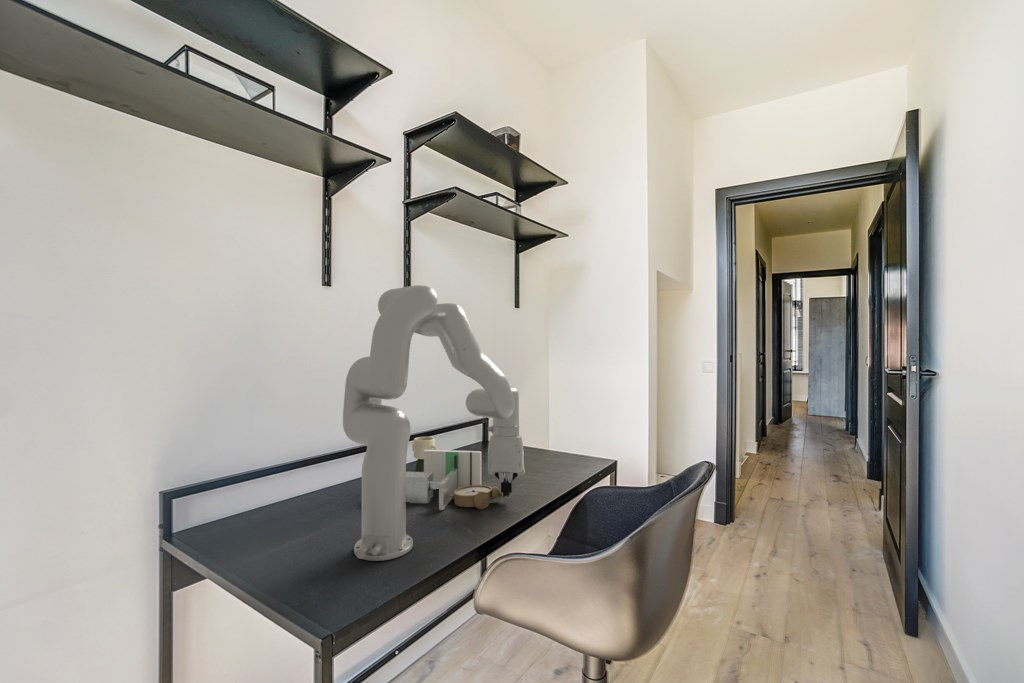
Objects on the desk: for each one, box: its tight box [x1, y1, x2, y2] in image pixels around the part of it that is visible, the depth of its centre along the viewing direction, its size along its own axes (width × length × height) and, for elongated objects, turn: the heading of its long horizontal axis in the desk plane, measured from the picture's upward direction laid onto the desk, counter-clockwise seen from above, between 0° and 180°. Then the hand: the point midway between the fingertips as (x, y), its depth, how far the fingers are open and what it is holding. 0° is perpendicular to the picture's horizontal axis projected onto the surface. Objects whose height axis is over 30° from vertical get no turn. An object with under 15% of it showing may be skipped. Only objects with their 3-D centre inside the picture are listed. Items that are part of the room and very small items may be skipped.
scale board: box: [424, 449, 482, 489], centre depth 144 cm, size 1×18×12 cm, turn 83°
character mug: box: [411, 436, 438, 472], centre depth 158 cm, size 11×7×13 cm, turn 57°
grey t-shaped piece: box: [429, 455, 457, 511], centre depth 135 cm, size 17×11×11 cm, turn 173°
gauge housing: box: [406, 471, 434, 504], centre depth 135 cm, size 6×13×7 cm, turn 83°
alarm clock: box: [450, 484, 503, 510], centre depth 132 cm, size 11×5×15 cm
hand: (506, 494), depth 132 cm, fingers closed
